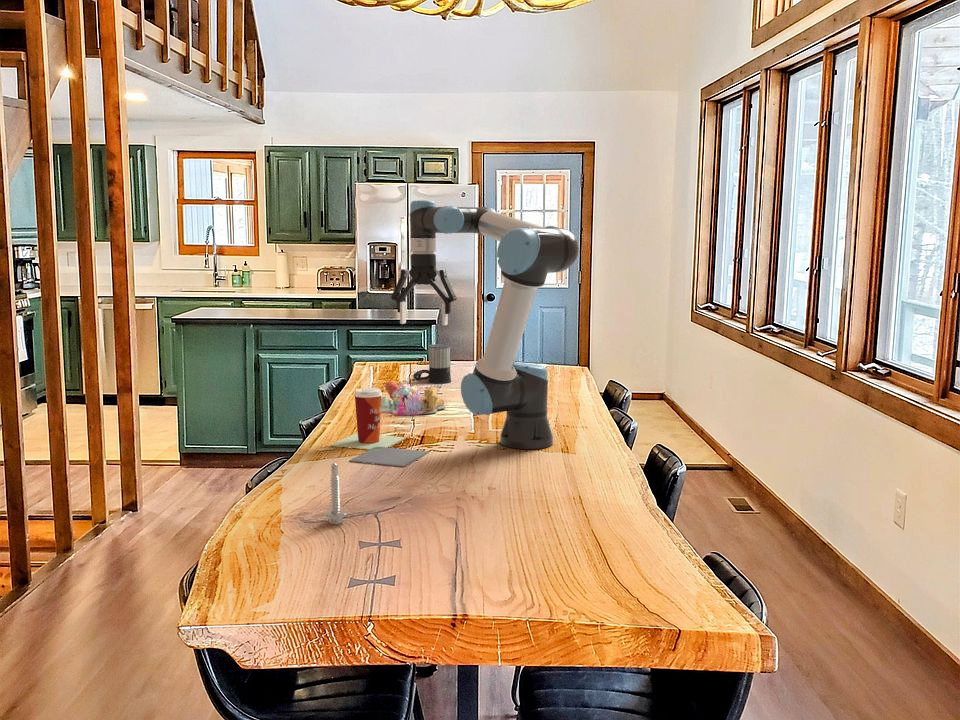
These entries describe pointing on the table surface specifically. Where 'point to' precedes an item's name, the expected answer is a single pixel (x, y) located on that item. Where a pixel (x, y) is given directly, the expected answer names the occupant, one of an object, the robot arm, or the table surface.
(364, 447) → the pad green
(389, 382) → the pastel sphere sculpture
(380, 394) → the coffee cup
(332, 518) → the screw
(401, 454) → the pad grey
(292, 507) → the table surface
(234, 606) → the table surface
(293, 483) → the table surface
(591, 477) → the table surface
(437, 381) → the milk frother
